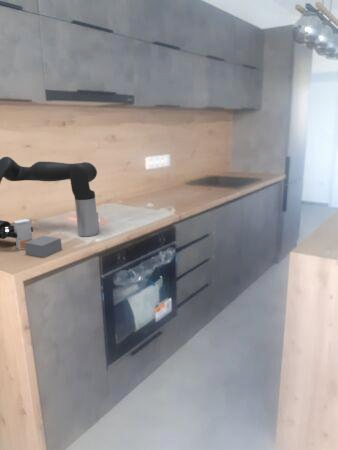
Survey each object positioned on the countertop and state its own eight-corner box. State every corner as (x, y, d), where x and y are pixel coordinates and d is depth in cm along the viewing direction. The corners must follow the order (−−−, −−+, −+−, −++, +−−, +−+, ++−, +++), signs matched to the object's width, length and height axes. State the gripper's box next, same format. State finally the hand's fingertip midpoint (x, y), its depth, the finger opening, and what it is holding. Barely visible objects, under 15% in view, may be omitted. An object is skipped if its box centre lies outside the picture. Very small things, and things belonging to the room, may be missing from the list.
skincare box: (19, 250, 154) (15, 223, 151) (16, 247, 157) (12, 220, 154) (34, 247, 157) (30, 220, 154) (31, 244, 161) (27, 218, 157)
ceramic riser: (44, 246, 158) (42, 235, 156) (61, 249, 153) (60, 238, 152) (25, 254, 149) (24, 242, 148) (43, 257, 145) (42, 245, 143)
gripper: (12, 232, 169) (38, 236, 162) (-15, 241, 157) (11, 246, 150) (10, 216, 167) (36, 219, 160) (-18, 224, 155) (8, 228, 148)
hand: (24, 232), depth 155 cm, fingers open, 8 cm apart
